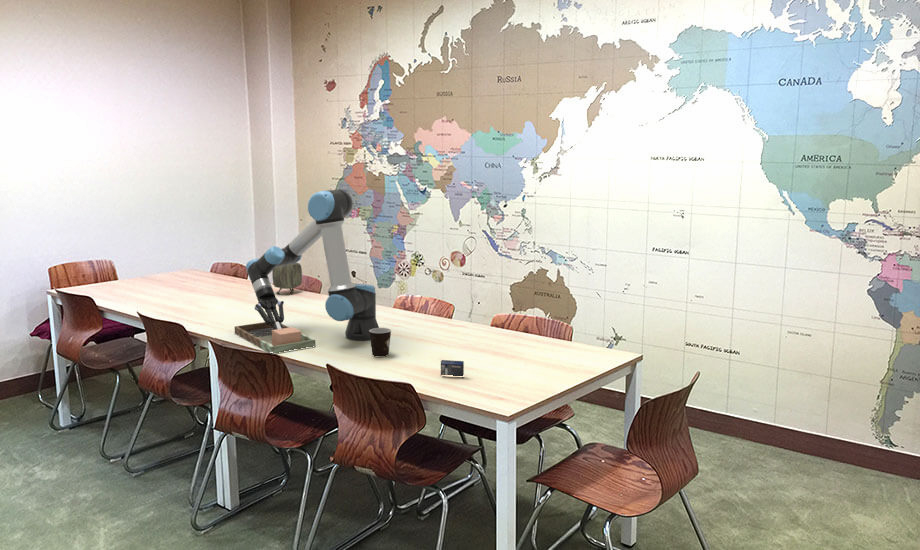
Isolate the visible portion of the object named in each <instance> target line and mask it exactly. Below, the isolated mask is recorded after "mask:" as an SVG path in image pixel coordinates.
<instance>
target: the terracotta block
mask: <svg viewBox="0 0 920 550" xmlns="http://www.w3.org/2000/svg"><path fill="white" fill-rule="evenodd" d="M301 333H302V331H301V330H300V329H297V328H295V327H292V326H291V327H289V328H283V329H276V330H272V335H271V340H272V341H271V343H272V344H271V345H272V346H277V345H284V344H290V343H296V342H302V341H301Z"/></svg>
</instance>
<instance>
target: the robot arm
mask: <svg viewBox="0 0 920 550" xmlns="http://www.w3.org/2000/svg"><path fill="white" fill-rule="evenodd" d="M353 206H354V203H353V199H352V197H351V195H350V194H349V193H348V192H347V191H346V190H344V189H339V188H338V189H330V190H322V191H317V192H315V193H314V194H312V195H311V197H310V198H309V200H308V202H307V211H308V214H309V216H310V217H311V218H312V219H313V220H311V222H310V223H309V224H308V225H306V226H305V228H303V229H302V230H301V231H300V232H299V233H298V234H297V235H296V236H295V237H294V238H293V239H292V240H291V241H290V242H289V243H288V244H287V245H286V246H285V247H283V248H280V247H279V246H276V245H273V246H271V247H269V249H267V250H266V251H265V253H263V254H262V256H260V258H252V259H251V260H248V261H247V263H246V266H245V268H246V269H245V270H246V273H247V275H248V277H249V280H250V282H251V285H252V288H253V290H254V293H255V296H256V299H257V301H258V303H257V304H255V306H254V310H255V311H257V312H258V314H259V315H260V317H261V318H262V319H263V322H265V323H266V324H267V325H269V324H271V325H270V326H272V328H273V330H276V329H283V326H282V324H283V322H284V320H285V313H284V303H285V302H284V300H281V301H280V300H279V299H278V298H277V296H276V294H275V292H274V289H273V287H272V283H271V281H270V278H269V274H271V272H272V271H273V269H274V268H276V267H280V266H284V265H288V264H294V263H296V262H298V263H299V262H300V260H302V255H303V254H304V253H305V252H306V251H308V249H310V248H311V247H312V246H313V245H314V244H315V243H316V242H318V240H319V239H320V238H322V244H323V248H324V249H323V250H324V255H325V261H326V265H327V266H326V267H327V271H328V278H329V282H330V286H329V288H328V289H327V294H328V297H327V298H326V301H325V303H324V304H325V305H324V306H325V311H326V313H327V315H328V316H329V317H330V318H332V320H334V321H336V322H343V321H344V322H345V321H348V322H347V324H346V329H345V333H344V334H345V338H347V340H351V339H352V340H351V341H371V340H370V332H369V330H371V329H374V328H380V327H379V323H378V321H377V310H376V308H377V306H376V305H377V304H376V299H377V295H376V294H377V293H376V287H375V286H374V285H373V284H365V283H353V282H352V277H351V272H350V266H349V261H348V255H347V249H346V244H345V238H344V233H343V224H344V222H345V218H346V217H347V216H349V215H350V213H351V212H352V209H353ZM277 307H278V310H277ZM275 321H276V322H275Z"/></svg>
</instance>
